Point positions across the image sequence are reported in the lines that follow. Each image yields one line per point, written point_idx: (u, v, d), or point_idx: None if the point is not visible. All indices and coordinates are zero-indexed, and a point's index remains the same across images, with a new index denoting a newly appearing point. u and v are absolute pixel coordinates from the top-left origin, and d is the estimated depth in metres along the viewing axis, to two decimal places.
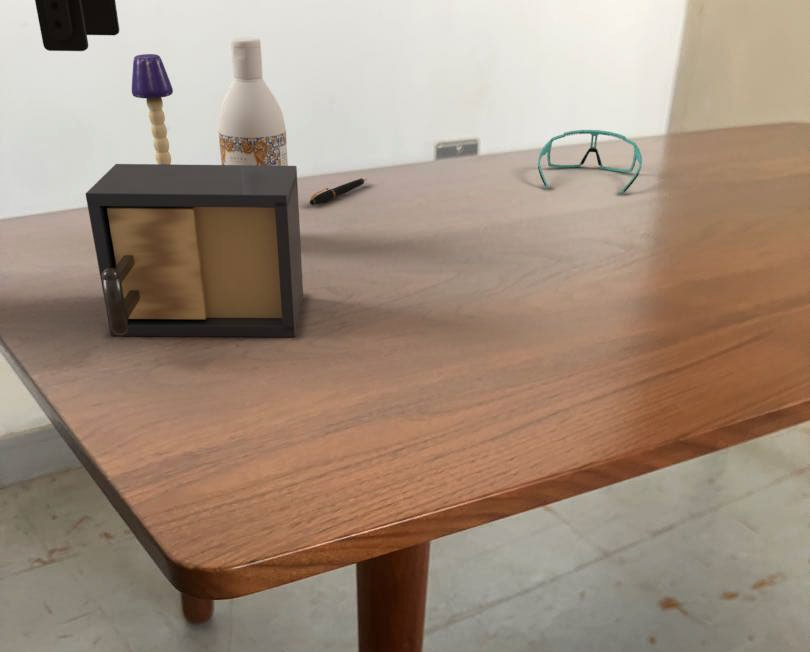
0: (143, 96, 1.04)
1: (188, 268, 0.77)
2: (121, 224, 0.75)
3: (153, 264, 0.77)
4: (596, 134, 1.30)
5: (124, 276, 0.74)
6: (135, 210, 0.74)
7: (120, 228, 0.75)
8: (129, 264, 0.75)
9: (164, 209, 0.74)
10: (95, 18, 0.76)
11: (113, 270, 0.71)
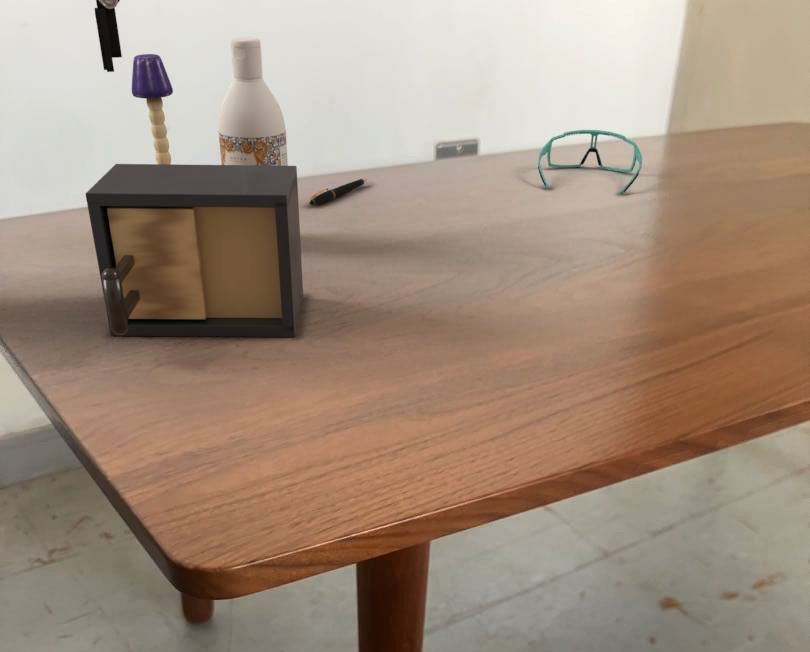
0: (143, 96, 1.04)
1: (188, 268, 0.77)
2: (121, 224, 0.75)
3: (153, 264, 0.77)
4: (596, 134, 1.30)
5: (124, 276, 0.74)
6: (135, 210, 0.74)
7: (120, 228, 0.75)
8: (129, 264, 0.75)
9: (164, 209, 0.74)
10: None
11: (113, 270, 0.71)
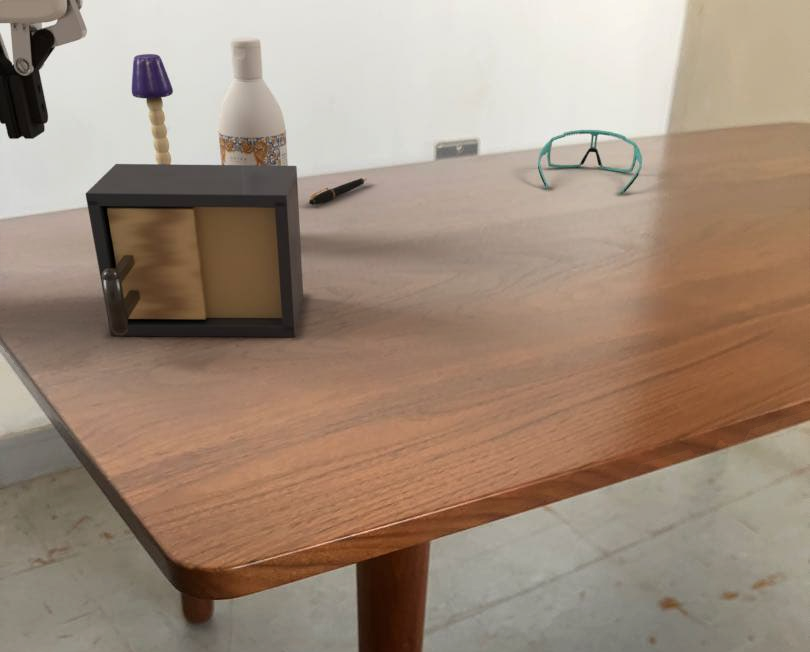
0: (143, 96, 1.04)
1: (188, 268, 0.77)
2: (121, 224, 0.75)
3: (153, 264, 0.77)
4: (596, 134, 1.30)
5: (124, 276, 0.74)
6: (135, 210, 0.74)
7: (120, 228, 0.75)
8: (129, 264, 0.75)
9: (164, 209, 0.74)
10: None
11: (113, 270, 0.71)
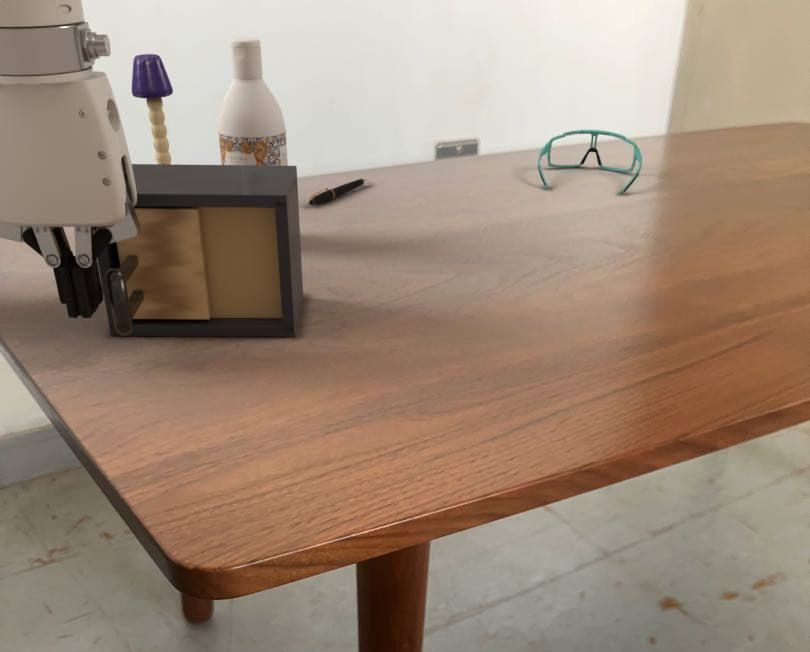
0: (143, 96, 1.04)
1: (192, 268, 0.77)
2: None
3: (158, 264, 0.77)
4: (596, 134, 1.30)
5: (128, 276, 0.74)
6: (139, 210, 0.74)
7: None
8: (133, 264, 0.75)
9: (168, 209, 0.74)
10: None
11: (117, 270, 0.71)
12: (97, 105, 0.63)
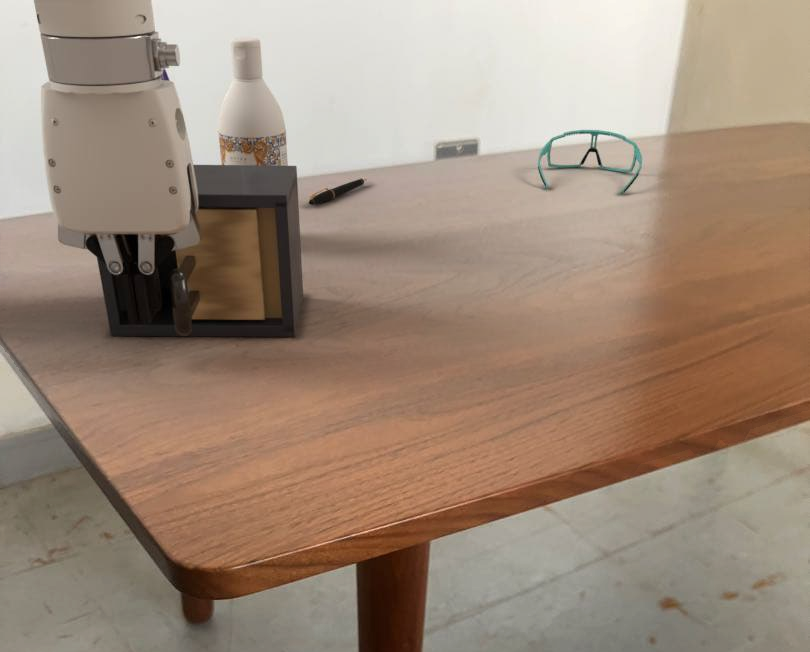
0: None
1: (249, 268, 0.77)
2: None
3: (215, 265, 0.77)
4: (596, 134, 1.30)
5: (188, 276, 0.74)
6: (198, 210, 0.74)
7: None
8: (192, 265, 0.75)
9: (227, 210, 0.75)
10: None
11: (179, 271, 0.71)
12: (167, 115, 0.63)
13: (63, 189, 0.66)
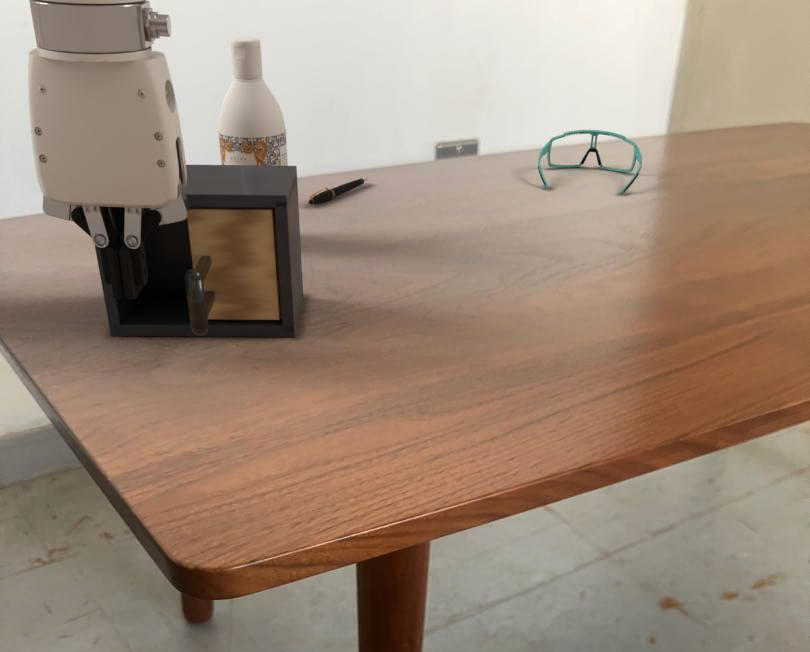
0: None
1: (265, 268, 0.77)
2: (200, 225, 0.75)
3: (230, 265, 0.77)
4: (596, 134, 1.30)
5: (204, 277, 0.74)
6: (215, 210, 0.74)
7: (199, 229, 0.75)
8: (207, 265, 0.75)
9: (243, 210, 0.75)
10: None
11: (196, 271, 0.71)
12: (156, 86, 0.63)
13: (49, 158, 0.65)
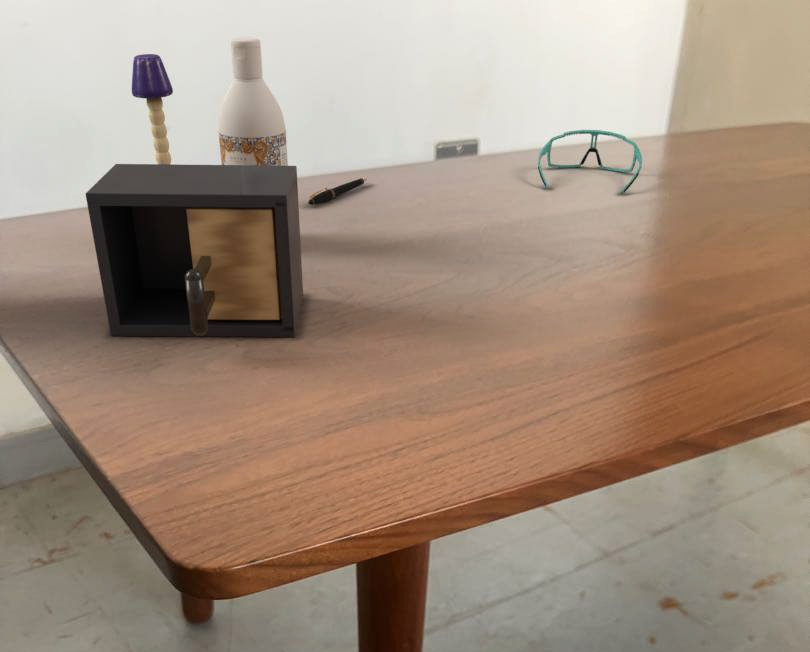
0: (143, 96, 1.04)
1: (265, 268, 0.77)
2: (200, 225, 0.75)
3: (230, 265, 0.77)
4: (596, 134, 1.30)
5: (204, 277, 0.74)
6: (215, 210, 0.74)
7: (199, 229, 0.75)
8: (207, 265, 0.75)
9: (243, 210, 0.75)
10: None
11: (196, 271, 0.71)
12: None
13: None
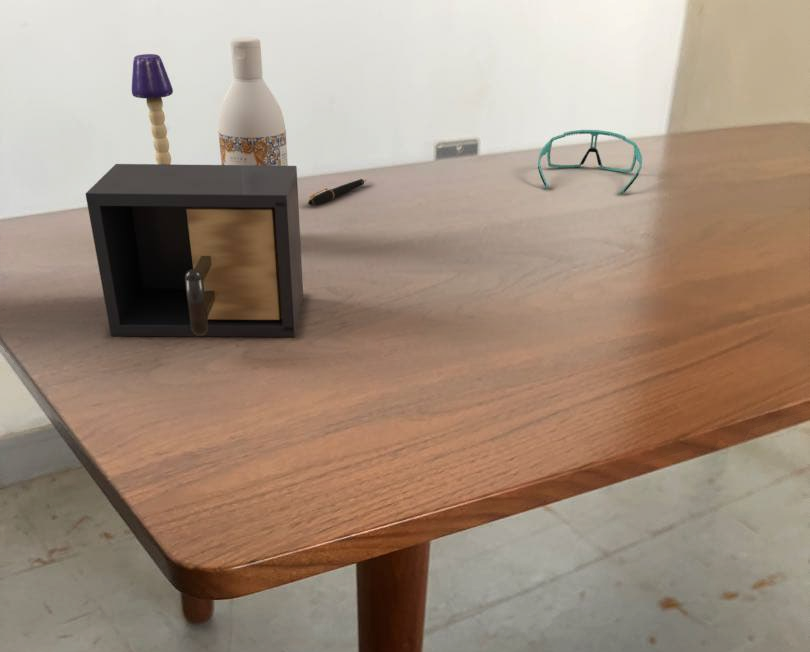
0: (143, 96, 1.04)
1: (265, 268, 0.77)
2: (200, 225, 0.75)
3: (230, 265, 0.77)
4: (596, 134, 1.30)
5: (204, 277, 0.74)
6: (215, 210, 0.74)
7: (199, 229, 0.75)
8: (207, 265, 0.75)
9: (243, 210, 0.75)
10: None
11: (196, 271, 0.71)
12: None
13: None
